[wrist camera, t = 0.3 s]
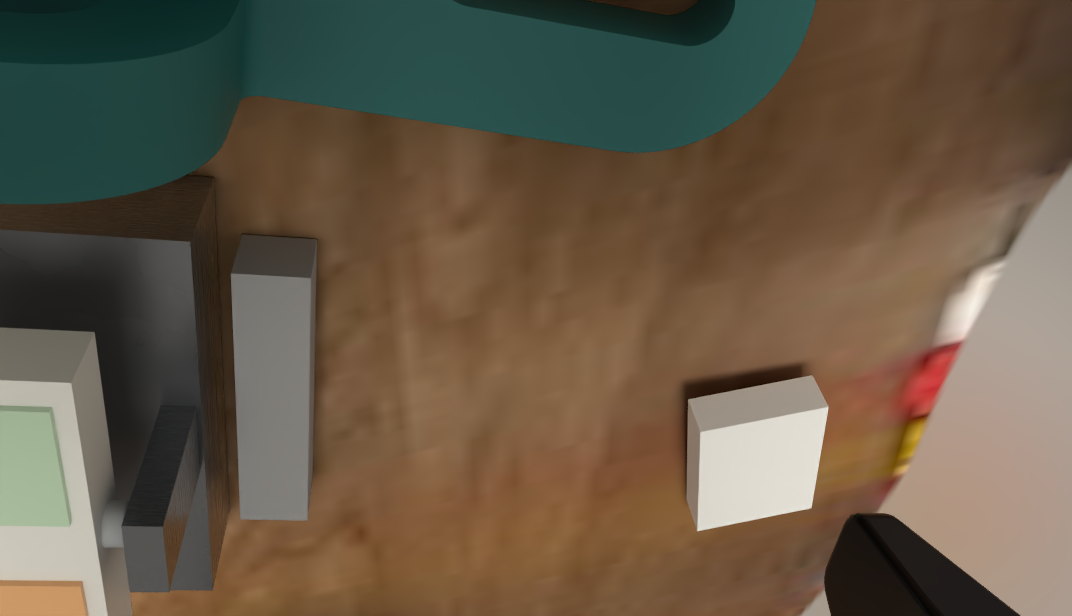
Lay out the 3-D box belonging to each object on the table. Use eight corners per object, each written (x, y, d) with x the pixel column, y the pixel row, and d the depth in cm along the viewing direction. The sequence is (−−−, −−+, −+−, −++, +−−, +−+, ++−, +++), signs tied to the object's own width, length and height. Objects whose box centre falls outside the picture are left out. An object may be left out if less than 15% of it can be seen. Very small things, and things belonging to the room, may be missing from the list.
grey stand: (229, 509, 29) (186, 716, 23) (-33, 504, 28) (-144, 720, 22) (213, 177, 23) (150, 349, 17) (-122, 152, 22) (-306, 328, 16)
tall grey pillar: (312, 475, 28) (307, 520, 27) (249, 473, 28) (240, 519, 27) (317, 239, 24) (311, 278, 23) (242, 234, 24) (231, 273, 22)
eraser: (697, 532, 30) (812, 508, 30) (699, 432, 26) (829, 406, 27) (685, 499, 31) (797, 476, 31) (686, 399, 27) (812, 373, 28)
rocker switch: (151, 627, 24) (134, 689, 23) (-60, 627, 23) (-90, 692, 22) (116, 333, 19) (92, 389, 18) (-153, 320, 18) (-200, 377, 17)
